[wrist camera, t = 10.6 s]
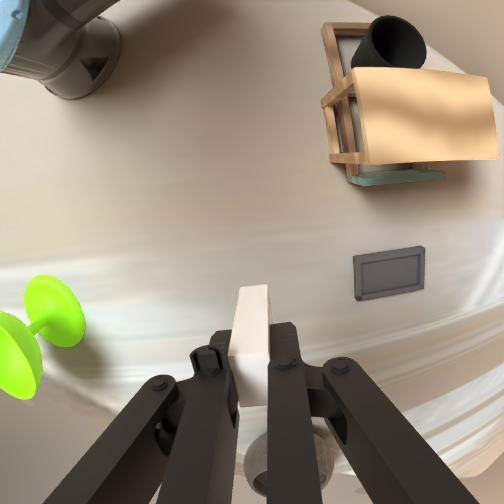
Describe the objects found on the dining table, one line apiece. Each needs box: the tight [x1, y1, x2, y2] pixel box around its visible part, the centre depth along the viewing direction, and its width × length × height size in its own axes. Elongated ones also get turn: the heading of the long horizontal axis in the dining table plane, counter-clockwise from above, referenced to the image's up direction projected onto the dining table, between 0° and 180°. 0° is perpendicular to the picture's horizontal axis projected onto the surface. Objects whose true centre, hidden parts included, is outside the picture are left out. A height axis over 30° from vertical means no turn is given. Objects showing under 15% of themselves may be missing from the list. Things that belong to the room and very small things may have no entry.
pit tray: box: [353, 246, 425, 301], centre depth 47 cm, size 7×12×2 cm, turn 99°
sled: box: [321, 23, 445, 186], centre depth 36 cm, size 24×12×8 cm, turn 9°
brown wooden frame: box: [321, 67, 499, 165], centre depth 33 cm, size 9×16×18 cm, turn 99°
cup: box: [351, 15, 427, 69], centre depth 33 cm, size 8×8×12 cm
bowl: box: [244, 433, 334, 497], centre depth 53 cm, size 18×18×13 cm
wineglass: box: [0, 275, 85, 400], centre depth 44 cm, size 16×16×18 cm
